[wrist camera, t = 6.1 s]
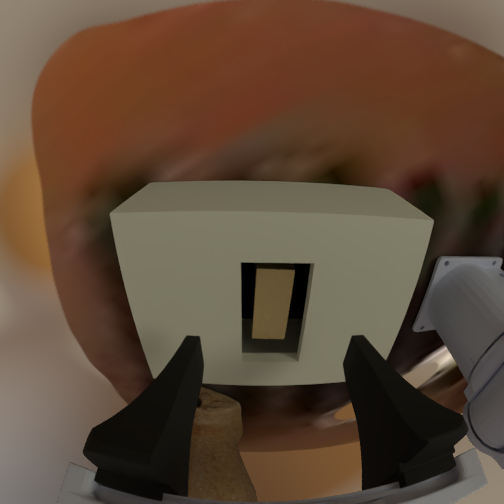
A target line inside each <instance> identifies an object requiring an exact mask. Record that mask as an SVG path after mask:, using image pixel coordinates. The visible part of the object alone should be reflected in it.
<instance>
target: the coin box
mask: <svg viewBox="0 0 504 504" xmlns="http://www.w3.org/2000/svg"><path fill="white" fill-rule="evenodd" d="M110 218H111V224H112V229H113V235H114V240H115V245H116V250H117V255H118V260H119V264H120V268H121V273H122V277H123V281H124V285H125V289H126V293H127V297H128V301H129V304H130V308H131V311H132V315H133V318H134V322H135V325H136V328H137V332H138V335H139V338H140V341H141V344H142V347H143V350H144V353H145V356H146V359H147V362H148V365H149V367H150V370H151V373H152V376H153V378H156V377H157V376H158V375H159V374H160V373H161V371H162V370H163V369H164V368H165V366H166V365H167V364H168V362H169V361H170V360H171V358H172V357H173V355H174V354H175V352H176V351H177V349H178V348H179V346H180V345H181V343H182V342H183V340H184V338H185V337H186V336H187V335H190V336H200V340H201V347H202V353H203V360H204V372H203V381H202V383H207V384H224V385H304V384H321V383H334V382H345V375H344V369H343V361H344V358H345V355H346V352H347V349H348V346H349V343H350V340H351V336H352V335H364V336H365V337H366V338H367V340H368V341H369V342H370V343H371V344H372V345H373V347H374V348H375V349H376V350H377V351H378V352H379V353H380V355H381V356H382V357H383V358H384V359H385V360H386V359H387V357H388V355H389V353H390V350H391V348H392V346H393V344H394V341H395V339H396V337H397V334H398V332H399V329H400V327H401V324H402V322H403V319H404V317H405V314H406V312H407V309H408V306H409V303H410V301H411V298H412V295H413V292H414V289H415V286H416V283H417V280H418V277H419V274H420V271H421V267H422V264H423V261H424V257H425V254H426V250H427V246H428V243H429V239H430V235H431V231H432V227H433V222H434V220H432V219H431V218H430V217H428V216H427V215H426V214H424V213H423V212H421V211H420V210H419V209H417V208H416V207H414V206H413V205H411V204H410V203H408V202H407V201H405V200H404V199H403V198H401V197H400V196H398V195H396V194H395V193H393V192H392V191H390V190H389V189H384V188H374V187H363V186H351V185H338V184H322V183H304V182H278V181H182V182H157V183H149V184H148V185H147V186H145V187H144V188H142V189H141V190H140V191H138V192H137V193H136V194H134V195H133V196H132V197H130V198H129V199H128V200H126V201H125V202H124V203H122V204H121V205H120V206H118V207H117V208H116V209H114V210H113V211H112V212H111V213H110ZM241 262H251V263H311V264H310V272H309V279H308V287H307V294H306V301H305V308H304V314H303V319H288V320H287V326H286V332H285V338H284V339H256V338H252V319H248V318H242V302H241Z"/></svg>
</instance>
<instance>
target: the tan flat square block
mask: <svg viewBox="0 0 504 504" xmlns="http://www.w3.org/2000/svg"><path fill="white" fill-rule="evenodd" d="M294 275H295V268H294V263H255V265H254V281H253V310H252V338H256V339H284V338H285V332H286V326H287V320H288V314H289V308H290V301H291V295H292V288H293V282H294Z"/></svg>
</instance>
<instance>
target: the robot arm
mask: <svg viewBox="0 0 504 504" xmlns="http://www.w3.org/2000/svg"><path fill="white" fill-rule="evenodd" d="M446 261H447V262H446ZM445 262H446V263H445ZM501 264H502V259H501V258H500V257H459V256H441V257H439V258H438V259H437V262H436V265H435V268H434V271H433V274H432V277H431V280H430V283H429V286H428V289H427V291H426V294H425V297H424V300H423V302H422V305H421V307H420V310H419V312H418V315H417V317H416V320H415V322H414V325H413V327H412V329H413V331H414V332H421V331H428V330H436V331H437V333H438V334H439V336H440V337H441V339H442V340H443V342H444V344H445V345H446V347H447V348H448V350H449V352H450V353H451V355H452V357H453V358H454V360H455V362H456V363H457V365H458V367H459V369H460V370H461V372H462V374H463V376H464V377H465V379H466V381H467V383H468V386H467V387H466V389H465V390H464V394H465V396H466V398H467V400H468V401H467V402H466V404H465V406H464V410H463V415H461V414H459V413H456V412H454V411H452V410H450V409H447V408H446V407H444V406H442V405H440V404H438V403H436V402H435V401H433V400H431V399H430V398H428V397H427V396H425V395H424V394H423V393H421V392H420V391H418V390H417V389H416V388H414V387H413V386H412V385H411V384H410V383H408V382H407V381H406V380H405V379H404V378H403V377H402V376H401V375H400V374H399V373H398V372H396V371H395V370H394V369H393V368H392V366H391V365H390V364H389V363H388V362H387V361H386V360H385V359H384V358H383V357H382V356H381V355H380V353H379V352H378V351H377V350H376V349H375V348H374V347H373V345H372V344H371V343H370V342H369V341H368V340H367V338H366V337H365V336H364V335H352V336H351V340H350V343H349V346H348V349H347V352H346V355H345V358H344V361H343V369H344V375H345V381H346V385H347V388H348V392H349V395H350V398H351V402H352V405H353V409H354V412H355V415H356V420H357V424H358V431H359V438H360V446H361V460H362V491H358V492H353V493H348V494H342V495H336V496H330V497H324V498H315V499H306V500H294V501H279V502H278V501H277V502H237V501H219V500H208V499H198V498H190V497H187V496H188V478H189V459H190V446H191V436H192V427H193V421H194V417H195V412H196V408H197V404H198V399H199V395H200V391H201V386H202V381H203V372H204V360H203V353H202V347H201V340H200V336H190V335H187V336H186V337H185V338H184V340H183V342H182V343H181V345H180V346H179V348H178V349H177V351H176V352H175V354H174V355H173V357H172V358H171V360H170V361H169V362H168V364H167V365H166V366H165V368H164V369H163V370H162V371H161V373H160V374H159V375H158V376H157V377H156V379H155V380H154V381H153V382H152V383H151V384H150V385H149V386H148V387H147V388H146V389H145V390H144V391H143V392H142V393H141V394H140V395H139V396H138V397H137V398H136V399H135V400H134V401H132V402H131V403H130V404H129V405H128V406H126V407H125V408H124V409H122V410H121V411H120V412H118V413H117V414H115V415H114V416H113V417H111V418H109V419H108V420H106V421H104V422H103V423H101V424H99V425H97V426H96V427H94V428H92V430H91V432H90V434H89V436H88V438H87V441H86V443H85V446H84V449H83V454H84V456H85V457H87V459H88V460H90V461H91V462H92V463H93V464H94V465H95V466H97V467H98V469H97V473H96V472H94V471H92V470H90V469H88V468H85V467H82V466H79V465H77V464H74V463H71V462H70V463H69V465H68V468H67V471H66V474H65V477H64V480H63V483H62V487H61V490H60V493H59V497H58V500H57V503H58V504H453V503H455V502H457V501H459V500H461V499H462V498H465V497H466V496H468V495H470V494H472V493H473V492H475V491H477V490H479V489H480V488H482V487H483V486H485V485H487V479H486V476H485V474H484V471H483V468H482V465H481V462H480V460H479V457H478V454H477V452H476V449H475V448H472V449H470V450H468V451H466V452H464V453H462V454H460V455H458V456H456V457H455V458H454V457H453V453H454V452H455V449H454V445H455V444H456V443H458V442H459V441H460V440H461V439H462V438H463V437H464V436H465V435H467V437H468V439H469V440H470V442H471V443H472V444H473V445H474V446H475V447H476V448H477V449H478V450H480V451H481V452H483V453H486V454H487V455H489V456H491V457H493V459H495V460H496V462H497V463H498V464H499V465H500V467H501V468H502V469H504V271H502V270H501V269H500V267H501Z"/></svg>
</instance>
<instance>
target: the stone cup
mask: <svg viewBox="0 0 504 504" xmlns="http://www.w3.org/2000/svg"><path fill="white" fill-rule="evenodd" d="M242 434H243V426H242V417H241V406H240V403H239V402H238V401H236V400H234V399H232V398H230V397H227V396H225V395H223V394H221V393H218V392H216V391H213V390H211V389H208V388H204V387H201V391H200V395H199V399H198V404H197V408H196V412H195V417H194V421H193V427H192V436H191V446H190V459H189V478H188V496H187V497H190V498H198V499H208V500H219V501H237V502H257V496H256V491H255V489H254V486H253V484H252V482H251V479H250V477H249V475H248V473H247V471H246V468H245V466H244V463H243V461H242V458H241V456H240V453H239V450H238V443H239V441H240V439H241V437H242Z"/></svg>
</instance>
